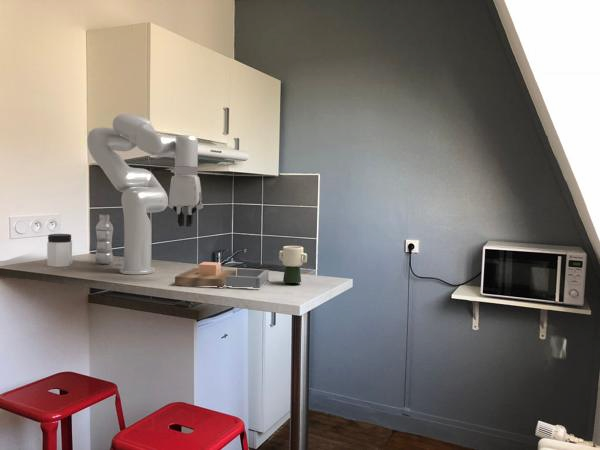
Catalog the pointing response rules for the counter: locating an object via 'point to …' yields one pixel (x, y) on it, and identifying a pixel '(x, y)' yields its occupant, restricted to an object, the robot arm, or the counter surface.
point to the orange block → (209, 268)
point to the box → (248, 278)
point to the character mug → (292, 263)
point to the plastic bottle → (104, 240)
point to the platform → (203, 278)
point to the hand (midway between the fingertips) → (185, 225)
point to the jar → (59, 250)
